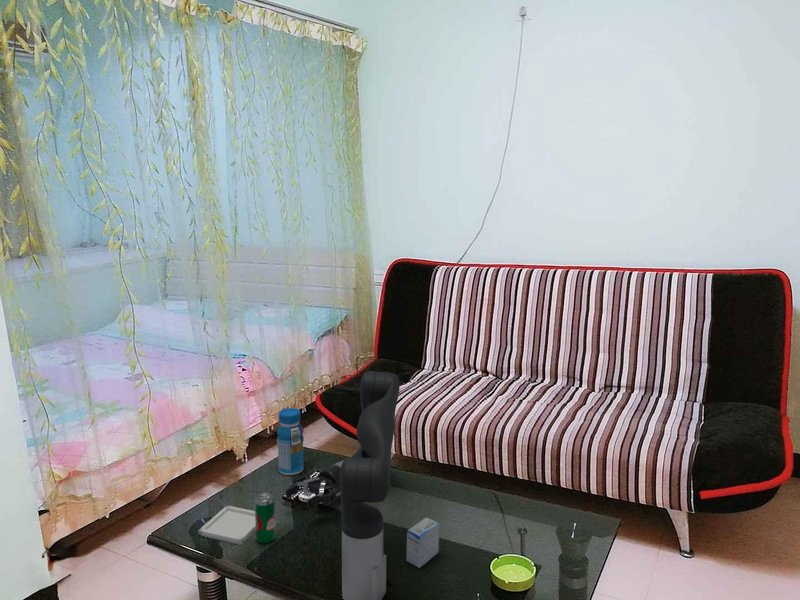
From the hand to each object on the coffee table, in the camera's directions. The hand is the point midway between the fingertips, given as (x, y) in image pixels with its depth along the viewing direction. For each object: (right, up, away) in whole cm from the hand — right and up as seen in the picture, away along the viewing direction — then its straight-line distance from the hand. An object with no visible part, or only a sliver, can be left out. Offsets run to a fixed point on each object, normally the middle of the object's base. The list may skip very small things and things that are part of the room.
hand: (296, 499), depth 164 cm
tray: (-17, -7, -2) cm, 18 cm away
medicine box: (+34, -10, -14) cm, 38 cm away
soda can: (-7, -8, -7) cm, 13 cm away
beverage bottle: (-7, -1, +30) cm, 31 cm away
